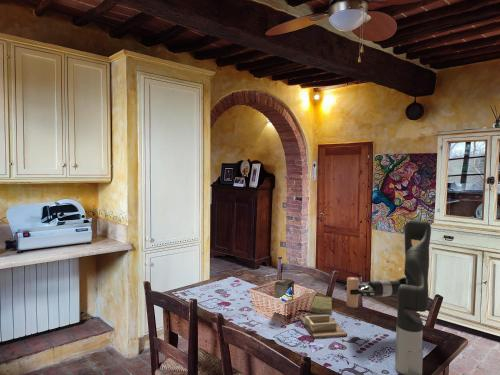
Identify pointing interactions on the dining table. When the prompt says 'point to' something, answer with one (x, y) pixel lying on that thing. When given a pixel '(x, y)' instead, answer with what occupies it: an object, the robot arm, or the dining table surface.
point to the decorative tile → (322, 305)
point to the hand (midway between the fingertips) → (347, 290)
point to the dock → (322, 326)
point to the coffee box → (283, 287)
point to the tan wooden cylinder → (352, 285)
